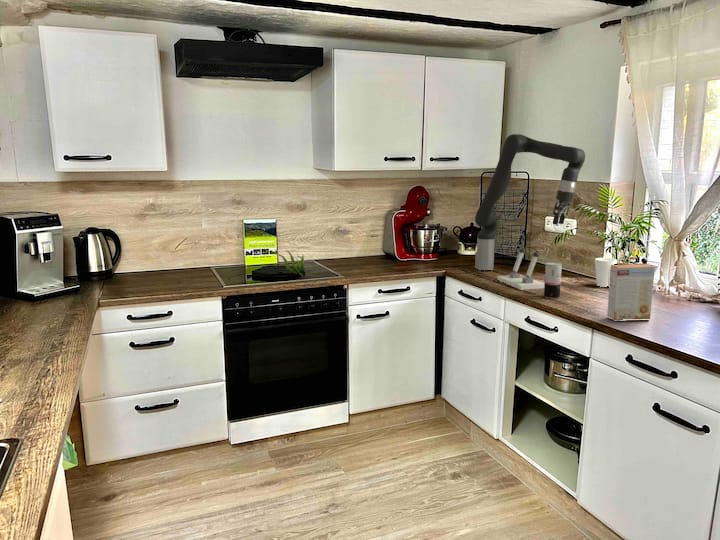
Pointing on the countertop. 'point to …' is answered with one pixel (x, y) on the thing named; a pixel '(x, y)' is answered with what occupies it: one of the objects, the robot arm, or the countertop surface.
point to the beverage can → (552, 280)
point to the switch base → (521, 281)
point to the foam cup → (603, 270)
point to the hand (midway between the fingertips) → (557, 224)
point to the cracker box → (630, 291)
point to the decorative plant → (295, 269)
